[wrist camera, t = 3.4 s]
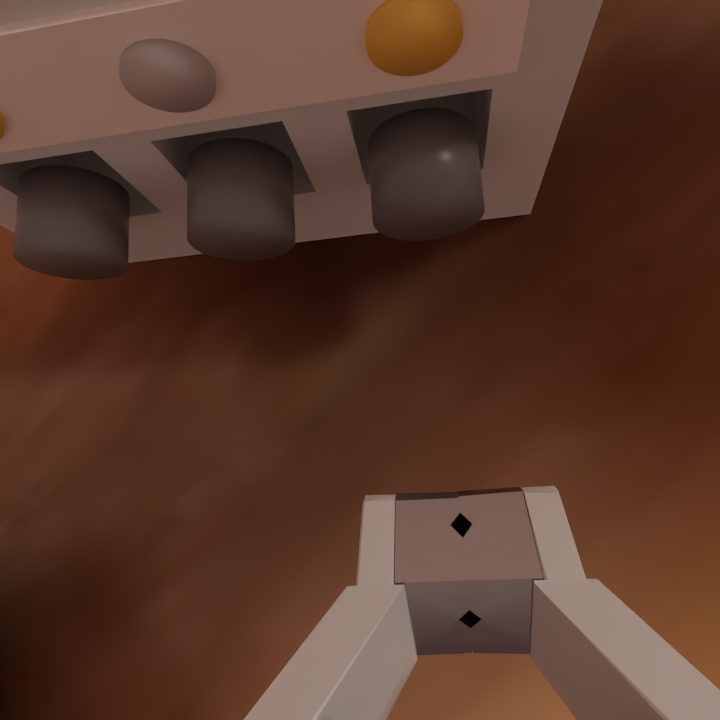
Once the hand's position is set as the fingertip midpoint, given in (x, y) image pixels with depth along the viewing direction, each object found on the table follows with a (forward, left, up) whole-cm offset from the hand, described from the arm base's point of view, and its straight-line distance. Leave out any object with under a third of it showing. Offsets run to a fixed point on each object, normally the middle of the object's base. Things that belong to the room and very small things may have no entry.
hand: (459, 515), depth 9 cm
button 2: (+13, 0, -11) cm, 17 cm away
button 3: (+17, +6, -11) cm, 21 cm away
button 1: (+9, -6, -11) cm, 16 cm away
